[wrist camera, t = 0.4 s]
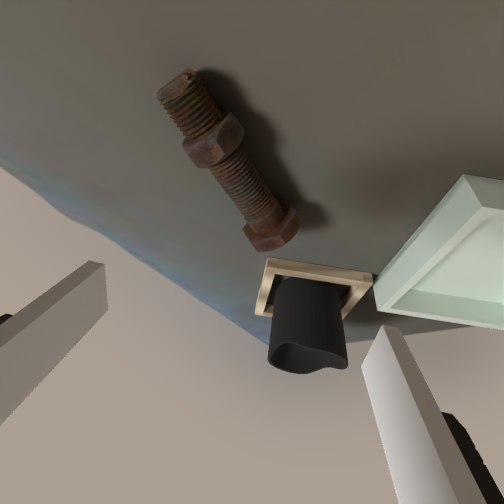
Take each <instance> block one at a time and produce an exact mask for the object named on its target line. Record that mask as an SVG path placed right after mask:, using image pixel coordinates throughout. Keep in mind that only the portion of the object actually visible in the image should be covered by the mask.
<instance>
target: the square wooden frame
mask: <svg viewBox="0 0 504 504" xmlns="http://www.w3.org/2000/svg"><path fill="white" fill-rule="evenodd" d="M275 274H280V275H286V276H292V277H299V278H305V279H312V280H318V281H325V282H331V283H338V284H344V285H351V287H350V289H349V290H348V291H347V293H346V294H345V295H344V297H343V298H342V299H341V301H340V307H341V313H342V320H343V319H344V318H345V316H346V315H347V314H348V313H349V312H350V310H351V309H352V308H353V307H354V306H355V305H356V303H357V302H358V301H359V300H360V299H361V297H362V296H363V295H364V294H365V293H366V291H367V290H368V289H369V288H370V287H371V285H372V284H373V279H372V273H368V272H361V271H355V270H349V269H342V268H336V267H329V266H323V265H317V264H310V263H304V262H297V261H291V260H284V259H278V258H272V257H268V258H267V262H266V266H265V270H264V274H263V278H262V282H261V286H260V290H259V294H258V298H257V302H256V307H255V315H262V316H268V317H272V316H273V307H274V305H271V304H266V302H267V298H268V295H269V292H270V289H271V285H272V282H273V279H274V276H275Z"/></svg>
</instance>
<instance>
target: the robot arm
mask: <svg viewBox="0 0 504 504" xmlns="http://www.w3.org/2000/svg"><path fill="white" fill-rule="evenodd" d="M107 310H108V303H107V291H106V277H105V265H104V264H102V263H97V262H92V261H88V262H86V263H85V264H84V265H82V266H81V267H79V268H78V269H77V270H75V271H74V272H73V273H71V274H70V275H68V276H67V277H66V278H64V279H63V280H62V281H60V282H59V283H58V284H56V285H55V286H53V287H52V288H51V289H49V290H48V291H47V292H45V293H44V294H43V295H41V296H39V297H38V298H37V299H36V300H34V301H33V302H31V303H30V304H28V305H27V306H26V307H24V308H23V309H22V310H20V311H19V312H17V313H16V314H15V315H10V314H5V315H2V316H0V425H1V424H2V423H3V422H4V421H5V420H6V419H7V417H8V416H9V415H10V414H11V413H12V412H13V411H14V410H15V409H16V408H17V407H18V406H19V405H20V404H21V403H22V402H23V400H24V399H25V398H26V397H27V396H28V395H29V394H30V393H31V392H32V391H33V390H34V388H36V387H37V386H38V384H39V383H40V382H41V381H42V380H43V379H44V378H45V377H46V376H47V375H48V374H49V373H50V372H51V371H52V369H53V368H54V367H55V366H56V365H57V364H58V363H59V362H60V361H61V360H62V359H63V358H64V357H65V355H66V354H67V353H68V352H69V351H70V350H71V349H72V348H73V347H74V346H75V345H76V344H77V343H78V341H80V339H81V338H82V337H83V336H84V335H85V334H86V333H87V332H88V331H89V330H90V329H91V328H92V327H93V326H94V324H95V323H96V322H97V321H98V320H99V319H100V318H101V317H102V316H103V315H104V314H105V313H106V312H107ZM361 368H362V371H363V375H364V379H365V382H366V386H367V390H368V393H369V397H370V400H371V404H372V408H373V411H374V415H375V419H376V422H377V426H378V429H379V433H380V437H381V440H382V444H383V447H384V451H385V455H386V458H387V462H388V466H389V469H390V473H391V477H392V480H393V484H394V488H395V491H396V495H397V499H398V502H399V504H504V498H503V496H502V494H501V492H500V491H499V489H498V487H497V485H496V483H495V482H494V480H493V478H492V476H491V474H490V473H489V471H488V469H487V467H486V465H484V464H483V460H482V458H481V456H480V454H479V453H478V451H477V450H476V449H475V445H474V444H473V442H472V440H471V438H470V436H469V434H468V433H467V431H466V429H465V428H464V427H463V426H462V425H461V424H460V423H459V422H458V420H457V419H456V418H455V417H454V416H453V415H452V414H449V413H444V412H441V411H440V410H439V407H438V405H437V403H436V401H435V399H434V397H433V395H432V393H431V391H430V389H429V387H428V385H427V383H426V381H425V379H424V377H423V375H422V373H421V371H420V369H419V367H418V365H417V363H416V361H415V359H414V357H413V355H412V353H411V351H410V349H409V347H408V345H407V343H406V341H405V339H404V337H403V335H402V333H401V331H400V329H399V328H395V327H390V326H386V325H382V326H381V328H380V330H379V332H378V334H377V336H376V338H375V340H374V342H373V344H372V346H371V348H370V350H369V352H368V354H367V356H366V358H365V360H364V362H363V364H362V366H361Z"/></svg>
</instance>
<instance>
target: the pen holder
mask: <svg viewBox="0 0 504 504" xmlns="http://www.w3.org/2000/svg"><path fill="white" fill-rule="evenodd" d="M268 362H269V363H270V364H271V365H272V366H274V367H276V368H278V369H280V370H283V371H286V372H290V373H296V374H308V373H311V372H314V371H317V370H320V369H322V368H326V367H332V368H336V369H345V368H347V367H348V359H347V351H346V343H345V336H344V328H343V321H342V313H341V307H340V300H339V294H338V290H337V288H336V287H335V286H334V285H333V284H332V283H331V282H325V281H318V280H312V279H305V278H299V277H291V278H288V279H286V280H284V281H283V282H281V283H280V284H279V285H278V287H277V289H276V293H275V300H274V307H273V316H272V325H271V334H270V342H269V351H268Z"/></svg>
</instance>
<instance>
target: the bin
mask: <svg viewBox="0 0 504 504" xmlns="http://www.w3.org/2000/svg"><path fill="white" fill-rule="evenodd" d="M373 289H374V295H375V300H376V306H377V311H382V312H389V313H395V314H402V315H408V316H415V317H421V318H428V319H434V320H441V321H447V322H454V323H460V324H467V325H473V326H480V327H486V328H493V329H499V330H504V180H498V179H492V178H486V177H480V176H473V175H467V174H463V175H462V176H461V177H460V178H459V179H458V181H457V182H456V183H455V184H454V185H453V187H452V188H451V189H450V190H449V191H448V193H447V194H446V195H445V196H444V197H443V199H442V200H441V201H440V202H439V203H438V205H437V206H436V207H435V208H434V209H433V211H432V212H431V213H430V214H429V215H428V217H427V218H426V219H425V220H424V221H423V223H422V224H421V225H420V226H419V227H418V229H417V230H416V231H415V232H414V233H413V235H412V236H411V237H410V238H409V239H408V241H407V242H406V243H405V244H404V245H403V247H402V248H401V249H400V250H399V251H398V253H397V254H396V255H395V256H394V257H393V259H392V260H391V261H390V262H389V263H388V265H387V266H386V267H385V268H384V269H383V271H382V272H381V273H380V274H379V275H378V277H377V278H376V279H375V280H374V281H373Z"/></svg>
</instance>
